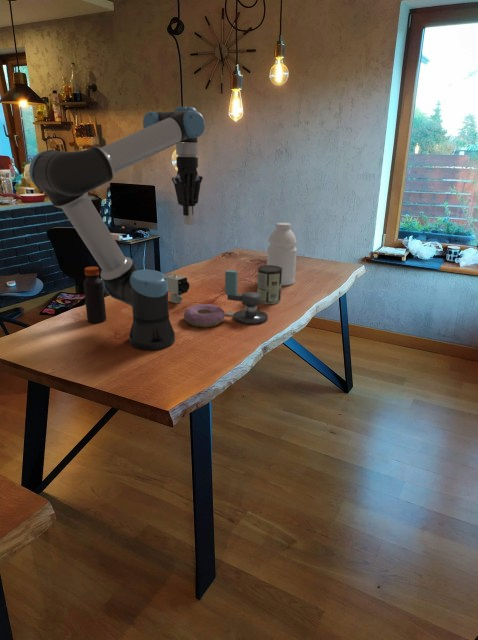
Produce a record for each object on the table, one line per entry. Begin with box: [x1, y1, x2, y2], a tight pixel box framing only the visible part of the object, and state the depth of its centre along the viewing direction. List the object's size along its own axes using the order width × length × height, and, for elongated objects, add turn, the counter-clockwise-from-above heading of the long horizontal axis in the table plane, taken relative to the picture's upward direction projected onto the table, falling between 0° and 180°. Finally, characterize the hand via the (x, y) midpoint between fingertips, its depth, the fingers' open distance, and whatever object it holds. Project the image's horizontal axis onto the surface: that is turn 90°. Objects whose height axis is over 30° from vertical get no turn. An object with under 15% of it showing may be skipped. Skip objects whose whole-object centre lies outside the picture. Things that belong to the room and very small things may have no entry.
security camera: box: [165, 273, 190, 304], centre depth 188 cm, size 6×12×12 cm, turn 53°
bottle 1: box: [82, 266, 107, 324], centre depth 166 cm, size 7×7×20 cm
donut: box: [183, 303, 226, 328], centre depth 170 cm, size 16×15×5 cm
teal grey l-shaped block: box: [224, 269, 261, 306], centre depth 171 cm, size 14×7×12 cm, turn 72°
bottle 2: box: [266, 222, 298, 287], centre depth 214 cm, size 14×14×28 cm
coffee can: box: [256, 264, 282, 305], centre depth 192 cm, size 10×10×14 cm
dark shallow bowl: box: [225, 305, 269, 326], centre depth 174 cm, size 13×16×6 cm
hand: (188, 224), depth 167 cm, fingers closed
